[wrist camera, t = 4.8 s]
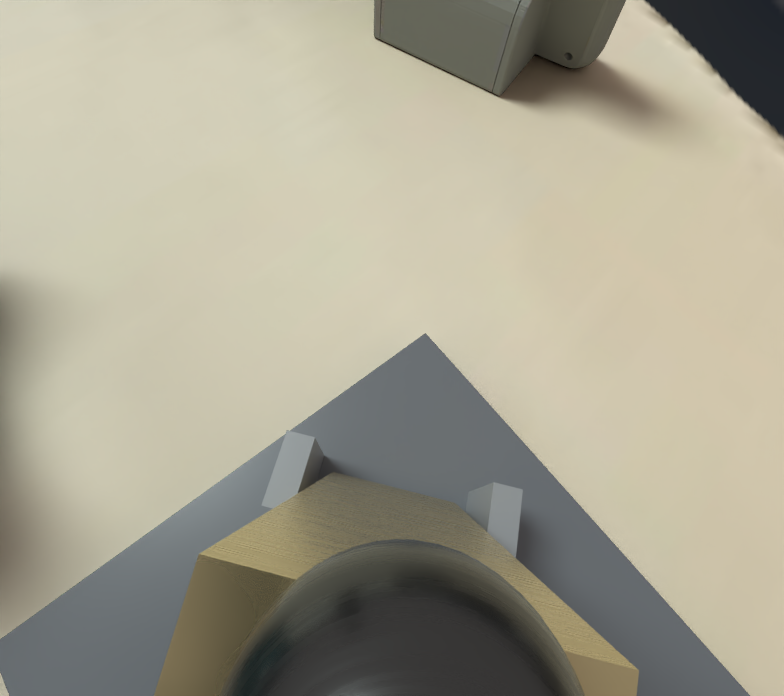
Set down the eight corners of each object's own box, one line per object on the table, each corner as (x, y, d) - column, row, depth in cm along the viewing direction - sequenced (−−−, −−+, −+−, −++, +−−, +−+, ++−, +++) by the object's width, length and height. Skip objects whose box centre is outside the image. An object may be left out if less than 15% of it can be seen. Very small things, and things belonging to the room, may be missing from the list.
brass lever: (441, 565, 13) (947, 1697, 1) (316, 533, 13) (-233, 1277, 1) (459, 480, 14) (924, 736, 2) (339, 449, 14) (64, 510, 2)
